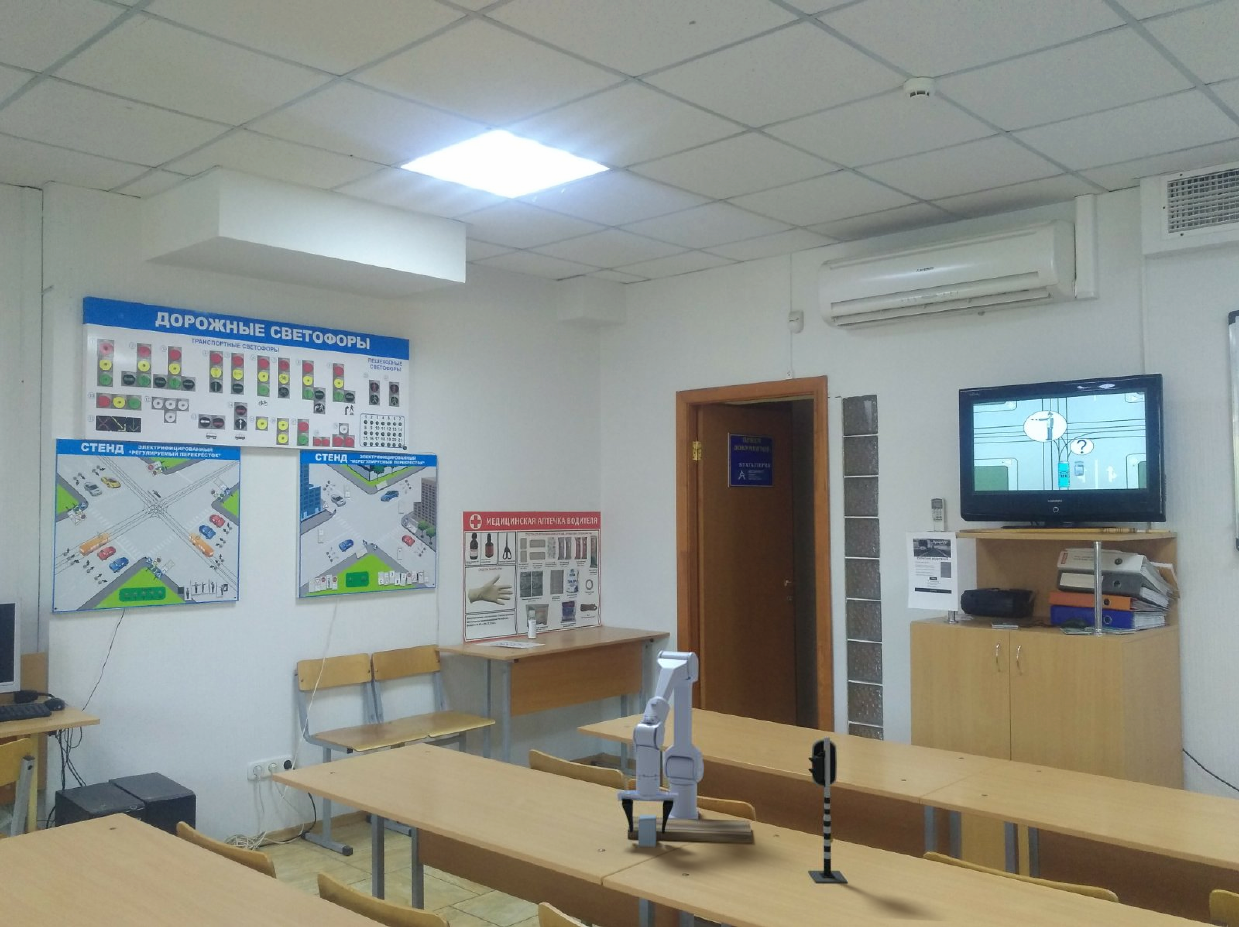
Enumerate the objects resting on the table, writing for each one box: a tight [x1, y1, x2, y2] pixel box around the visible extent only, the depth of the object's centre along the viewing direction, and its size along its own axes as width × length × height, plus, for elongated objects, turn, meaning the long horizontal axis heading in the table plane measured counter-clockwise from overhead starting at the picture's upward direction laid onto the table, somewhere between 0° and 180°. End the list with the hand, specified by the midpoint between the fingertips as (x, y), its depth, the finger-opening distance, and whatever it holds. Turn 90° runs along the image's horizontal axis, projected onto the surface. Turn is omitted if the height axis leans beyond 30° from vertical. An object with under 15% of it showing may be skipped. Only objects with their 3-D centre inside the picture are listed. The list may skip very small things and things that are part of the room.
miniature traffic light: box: [807, 736, 848, 884], centre depth 219 cm, size 8×8×30 cm
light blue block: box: [637, 814, 657, 848], centre depth 242 cm, size 8×4×6 cm, turn 175°
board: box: [627, 816, 753, 844], centre depth 249 cm, size 12×30×2 cm, turn 85°
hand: (647, 831), depth 241 cm, fingers open, 7 cm apart
